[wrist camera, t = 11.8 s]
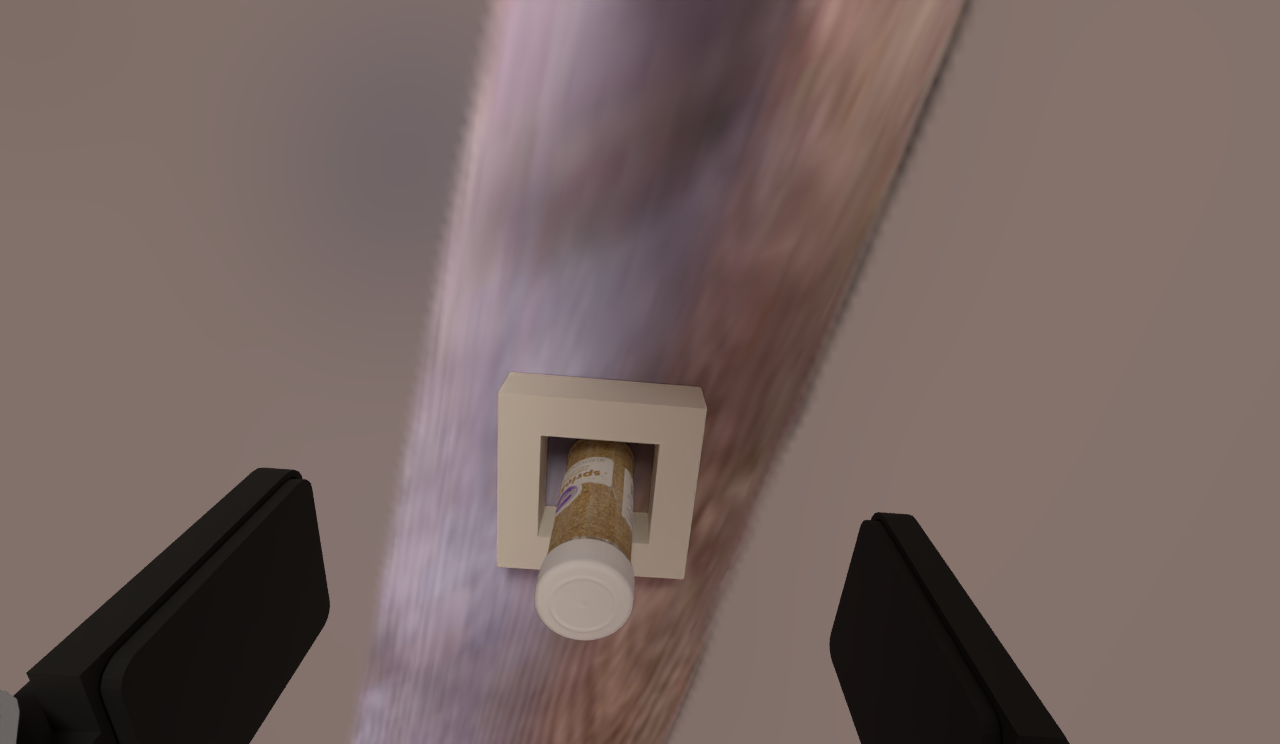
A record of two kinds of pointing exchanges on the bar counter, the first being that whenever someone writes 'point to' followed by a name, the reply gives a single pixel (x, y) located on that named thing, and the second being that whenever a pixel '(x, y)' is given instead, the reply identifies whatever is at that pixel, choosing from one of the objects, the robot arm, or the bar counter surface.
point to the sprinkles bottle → (590, 544)
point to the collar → (598, 414)
